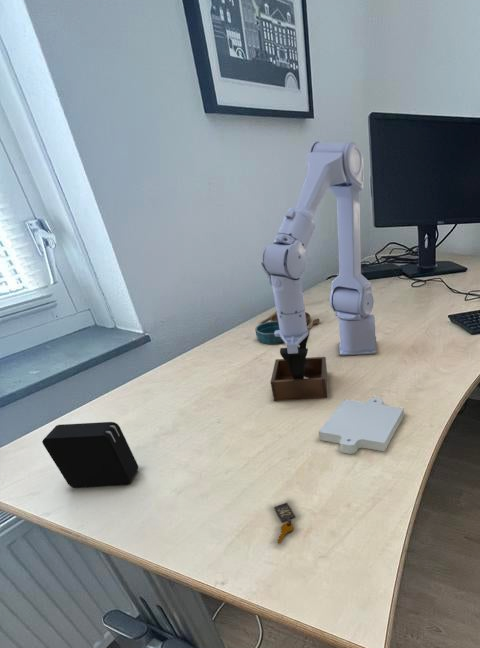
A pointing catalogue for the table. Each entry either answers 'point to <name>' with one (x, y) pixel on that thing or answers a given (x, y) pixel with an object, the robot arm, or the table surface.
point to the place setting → (275, 318)
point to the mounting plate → (362, 425)
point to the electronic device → (91, 454)
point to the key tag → (284, 518)
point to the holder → (300, 380)
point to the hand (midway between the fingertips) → (299, 371)
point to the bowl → (268, 333)
